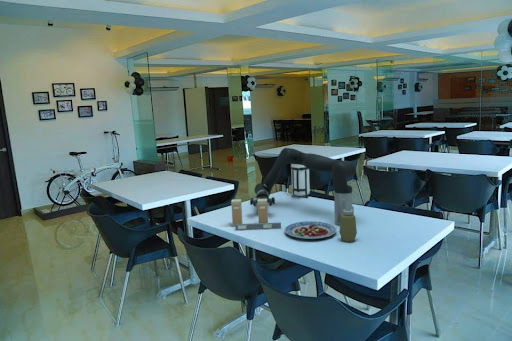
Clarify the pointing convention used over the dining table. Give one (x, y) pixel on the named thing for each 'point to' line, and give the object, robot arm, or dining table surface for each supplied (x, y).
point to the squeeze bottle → (348, 225)
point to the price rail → (258, 226)
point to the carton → (262, 211)
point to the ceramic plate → (310, 229)
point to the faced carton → (236, 211)
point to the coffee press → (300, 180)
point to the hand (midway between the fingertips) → (262, 204)
